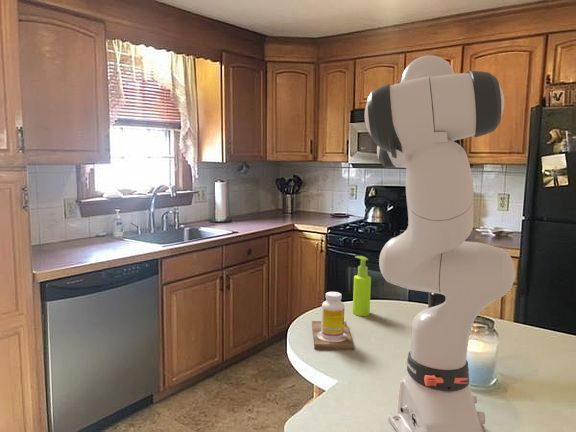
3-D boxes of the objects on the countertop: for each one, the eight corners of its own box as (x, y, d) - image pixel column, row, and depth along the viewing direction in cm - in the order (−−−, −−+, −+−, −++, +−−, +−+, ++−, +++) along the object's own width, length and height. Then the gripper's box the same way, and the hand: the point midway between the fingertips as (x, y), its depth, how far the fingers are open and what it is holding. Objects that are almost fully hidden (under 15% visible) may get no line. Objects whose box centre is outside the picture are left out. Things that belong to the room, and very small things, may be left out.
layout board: (353, 349, 133) (353, 328, 132) (314, 349, 133) (315, 327, 132) (345, 326, 151) (346, 306, 150) (311, 325, 151) (312, 306, 150)
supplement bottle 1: (345, 339, 136) (347, 297, 134) (323, 340, 135) (325, 297, 133) (340, 331, 142) (341, 290, 141) (319, 331, 141) (320, 290, 140)
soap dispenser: (361, 308, 168) (364, 254, 165) (372, 314, 162) (375, 258, 159) (347, 310, 165) (349, 255, 163) (358, 316, 159) (360, 259, 156)
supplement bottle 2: (432, 313, 164) (434, 280, 162) (451, 317, 160) (453, 284, 158) (424, 318, 159) (426, 284, 157) (443, 323, 155) (446, 288, 153)
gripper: (407, 177, 135) (405, 224, 137) (428, 181, 115) (424, 237, 117) (429, 177, 135) (426, 224, 137) (453, 182, 115) (449, 237, 117)
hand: (426, 230), depth 127 cm, fingers open, 8 cm apart
